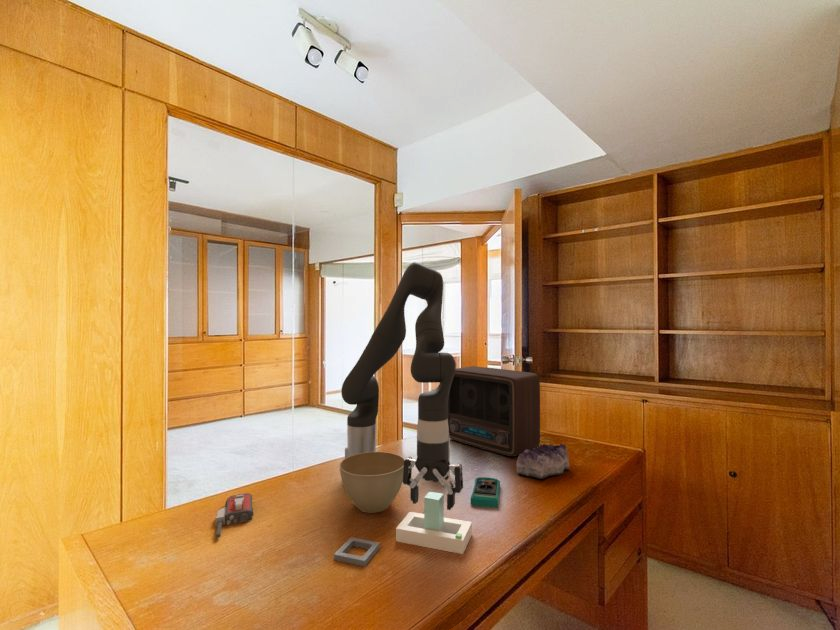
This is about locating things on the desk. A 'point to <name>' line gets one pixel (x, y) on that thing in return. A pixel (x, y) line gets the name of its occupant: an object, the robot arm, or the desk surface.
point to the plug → (434, 511)
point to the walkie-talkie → (235, 511)
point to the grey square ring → (353, 559)
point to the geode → (543, 461)
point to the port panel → (434, 533)
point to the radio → (495, 409)
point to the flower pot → (372, 479)
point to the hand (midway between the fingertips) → (432, 505)
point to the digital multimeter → (485, 492)
